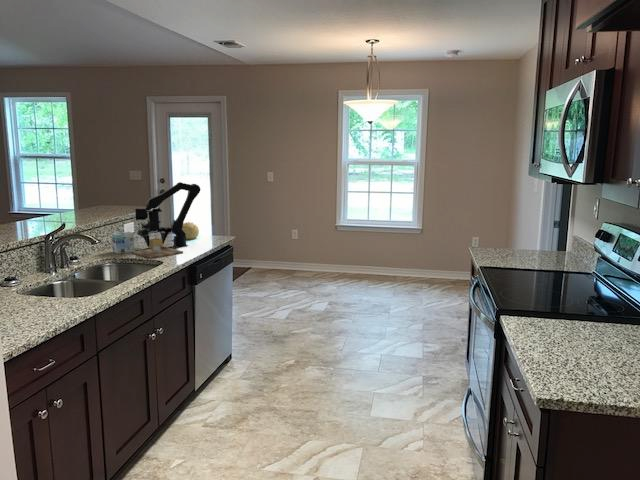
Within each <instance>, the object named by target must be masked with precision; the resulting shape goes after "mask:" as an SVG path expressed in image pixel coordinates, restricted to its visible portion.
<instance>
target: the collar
mask: <svg viewBox="0 0 640 480" xmlns="http://www.w3.org/2000/svg"><path fill="white" fill-rule="evenodd" d="M163 245H164V244H163V242H162V239H161V238H159V237H158V238H157V237H156V238H149V247H148V246H147V248H148V249H152V248H153V247H154V246H161V247H164V246H163Z"/></svg>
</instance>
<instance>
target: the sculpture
mask: <svg viewBox="0 0 640 480" xmlns="http://www.w3.org/2000/svg"><path fill="white" fill-rule="evenodd" d="M182 230H183V231H184V232H185V233H186V235H185V236H186V240H193V239H197V237H198V236H199V232H200V229H199V226H197V224H195V223H194V222H189V221H188V222H183V228H182Z"/></svg>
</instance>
